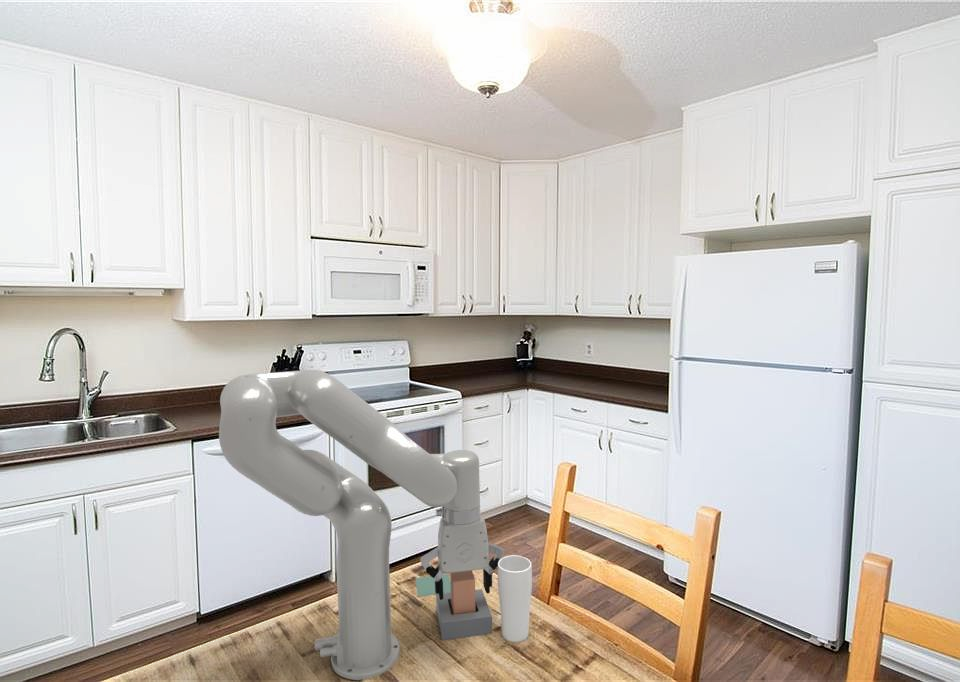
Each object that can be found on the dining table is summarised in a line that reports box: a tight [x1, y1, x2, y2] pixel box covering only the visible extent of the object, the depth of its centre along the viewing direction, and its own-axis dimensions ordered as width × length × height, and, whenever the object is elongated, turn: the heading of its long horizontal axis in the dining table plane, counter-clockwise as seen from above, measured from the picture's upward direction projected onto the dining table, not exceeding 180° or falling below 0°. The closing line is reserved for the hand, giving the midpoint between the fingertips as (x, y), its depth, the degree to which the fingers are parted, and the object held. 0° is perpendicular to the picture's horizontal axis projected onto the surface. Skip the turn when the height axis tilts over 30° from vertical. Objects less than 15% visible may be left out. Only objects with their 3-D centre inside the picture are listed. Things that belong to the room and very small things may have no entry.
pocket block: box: [435, 588, 493, 641], centre depth 108 cm, size 10×10×4 cm
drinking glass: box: [497, 554, 533, 643], centre depth 103 cm, size 7×7×15 cm
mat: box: [415, 573, 451, 598], centre depth 121 cm, size 8×8×1 cm
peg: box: [449, 571, 476, 615], centre depth 107 cm, size 4×4×10 cm
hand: (463, 592), depth 107 cm, fingers open, 9 cm apart
